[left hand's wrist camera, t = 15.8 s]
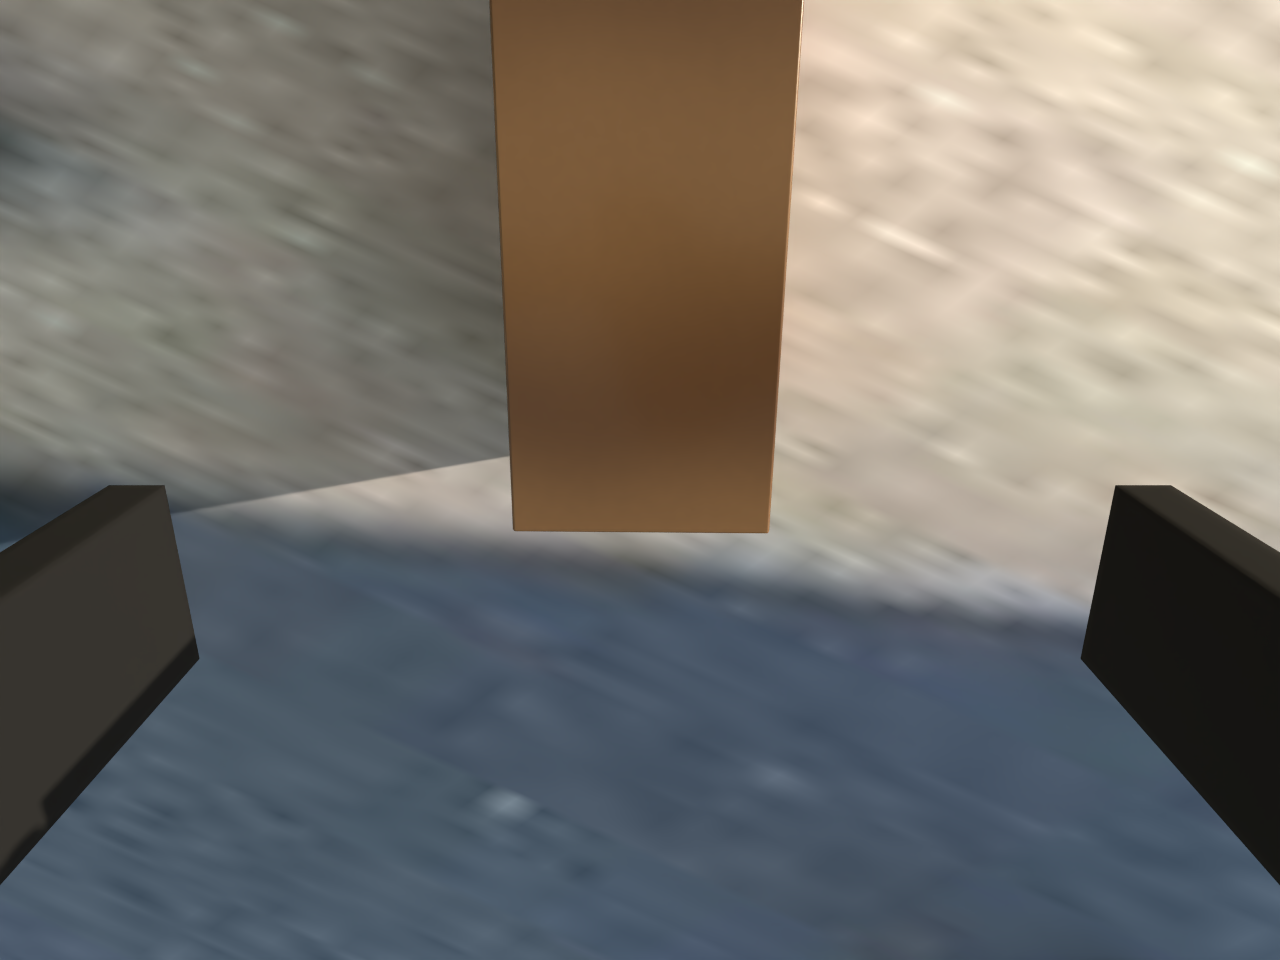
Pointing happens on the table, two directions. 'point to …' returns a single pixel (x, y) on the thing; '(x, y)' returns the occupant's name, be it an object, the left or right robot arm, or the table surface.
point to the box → (644, 256)
